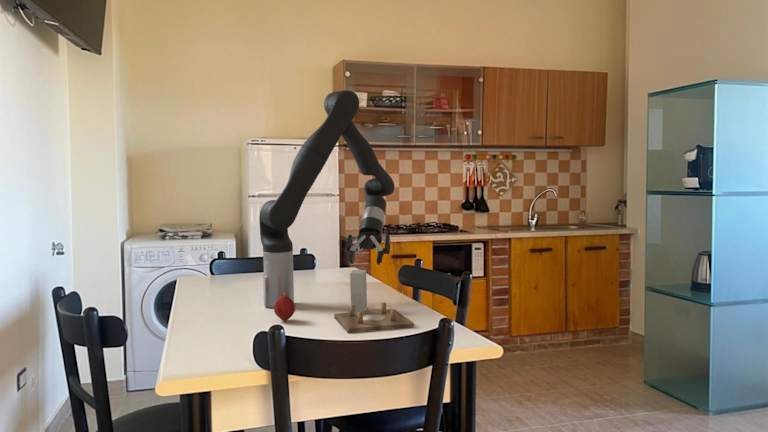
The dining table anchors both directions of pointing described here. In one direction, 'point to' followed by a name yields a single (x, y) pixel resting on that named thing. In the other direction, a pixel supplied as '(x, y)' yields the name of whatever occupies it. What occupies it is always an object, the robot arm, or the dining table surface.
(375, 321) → the standoff plate
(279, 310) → the onion
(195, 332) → the dining table surface
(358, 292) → the skincare box
